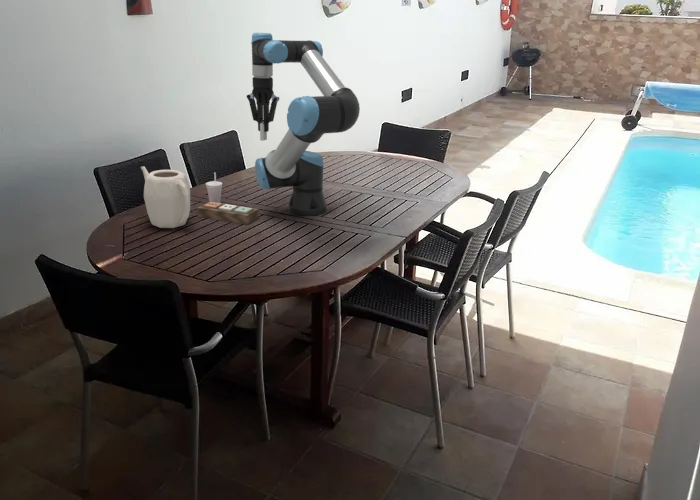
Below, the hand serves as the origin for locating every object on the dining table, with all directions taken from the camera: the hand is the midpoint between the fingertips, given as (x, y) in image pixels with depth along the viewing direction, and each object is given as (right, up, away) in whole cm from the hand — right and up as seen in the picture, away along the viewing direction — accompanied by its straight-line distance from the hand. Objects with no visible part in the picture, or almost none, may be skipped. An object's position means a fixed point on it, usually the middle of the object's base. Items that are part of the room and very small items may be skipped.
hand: (263, 139), depth 234 cm
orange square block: (-18, -29, -4) cm, 34 cm away
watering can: (-33, -33, -14) cm, 49 cm away
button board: (-12, -30, -6) cm, 33 cm away
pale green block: (-6, -31, -8) cm, 32 cm away
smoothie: (-20, -26, +5) cm, 33 cm away
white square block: (-12, -30, -6) cm, 33 cm away
